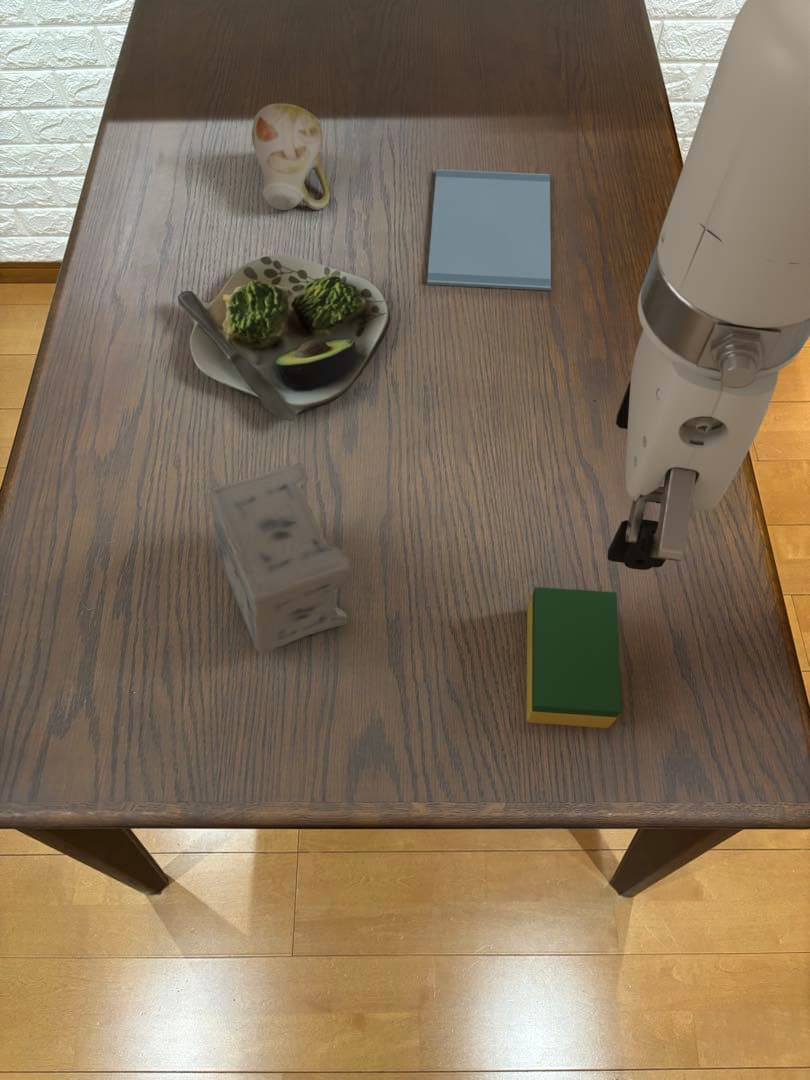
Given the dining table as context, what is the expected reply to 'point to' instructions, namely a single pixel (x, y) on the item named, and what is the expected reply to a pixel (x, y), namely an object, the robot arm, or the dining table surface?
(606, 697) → the scrubber
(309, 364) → the salad plate
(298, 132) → the mug
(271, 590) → the incense holder
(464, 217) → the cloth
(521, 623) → the dining table surface
